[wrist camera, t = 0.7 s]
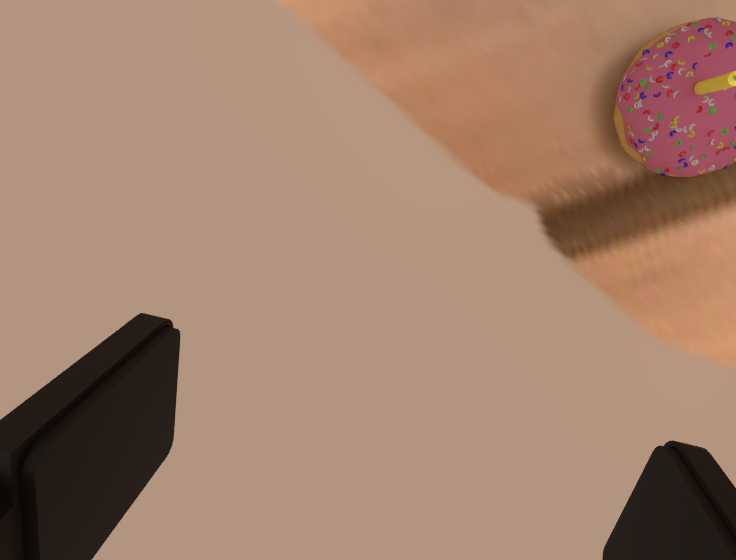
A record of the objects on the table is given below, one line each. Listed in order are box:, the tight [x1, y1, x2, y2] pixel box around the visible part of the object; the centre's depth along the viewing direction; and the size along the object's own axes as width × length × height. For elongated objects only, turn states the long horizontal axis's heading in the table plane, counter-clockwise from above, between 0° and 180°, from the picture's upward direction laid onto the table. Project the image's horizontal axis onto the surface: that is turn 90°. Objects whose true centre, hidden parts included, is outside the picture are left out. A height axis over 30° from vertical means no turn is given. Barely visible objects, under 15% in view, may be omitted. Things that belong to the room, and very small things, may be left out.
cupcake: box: [614, 17, 736, 177], centre depth 28 cm, size 9×8×12 cm
